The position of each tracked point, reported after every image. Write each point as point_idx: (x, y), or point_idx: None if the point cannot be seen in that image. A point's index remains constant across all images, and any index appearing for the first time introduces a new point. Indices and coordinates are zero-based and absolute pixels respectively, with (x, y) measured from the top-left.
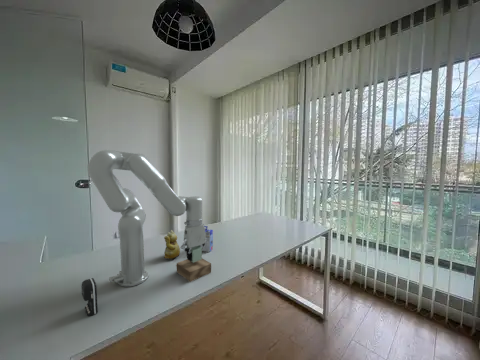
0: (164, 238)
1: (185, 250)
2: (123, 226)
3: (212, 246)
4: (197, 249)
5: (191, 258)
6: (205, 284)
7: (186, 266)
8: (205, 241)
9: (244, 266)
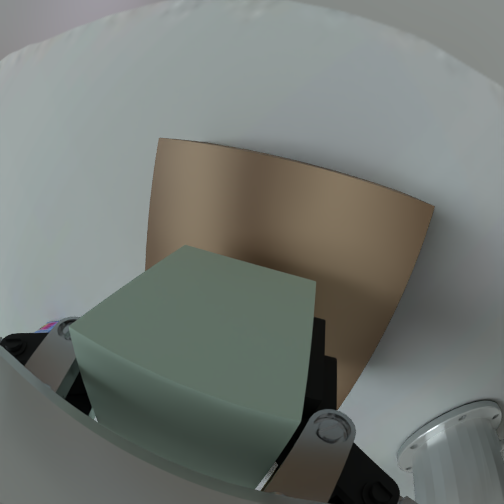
0: None
1: (397, 487)
2: None
3: (40, 328)
4: (172, 370)
5: (314, 335)
6: (361, 67)
7: (354, 318)
8: None
9: (61, 56)
